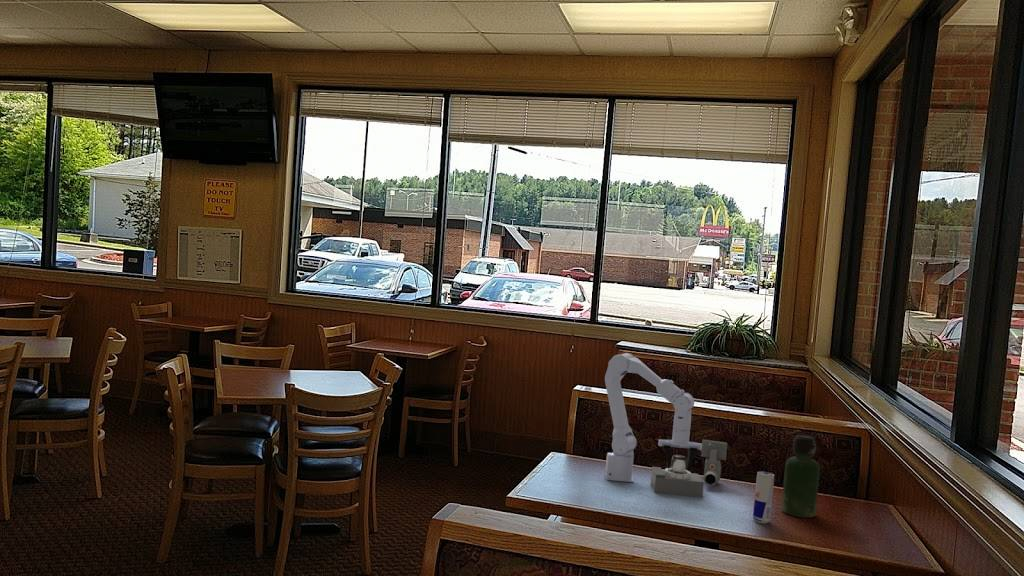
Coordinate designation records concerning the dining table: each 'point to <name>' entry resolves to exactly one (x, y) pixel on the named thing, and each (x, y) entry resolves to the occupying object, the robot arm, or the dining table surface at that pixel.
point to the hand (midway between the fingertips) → (677, 468)
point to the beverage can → (763, 497)
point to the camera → (713, 460)
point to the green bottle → (801, 479)
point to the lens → (678, 464)
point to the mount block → (676, 482)
